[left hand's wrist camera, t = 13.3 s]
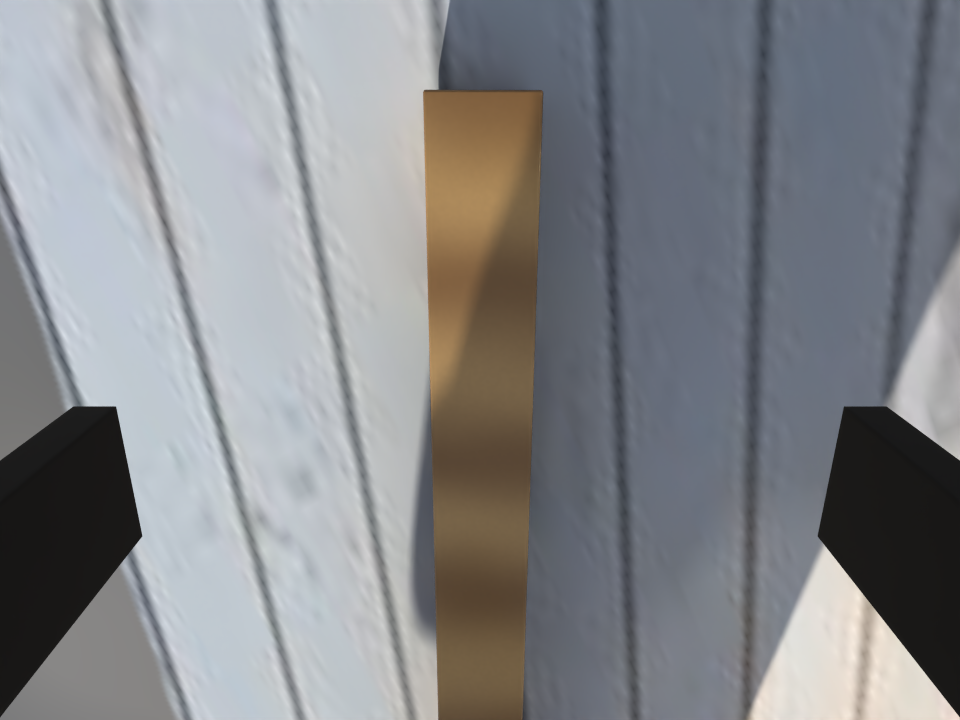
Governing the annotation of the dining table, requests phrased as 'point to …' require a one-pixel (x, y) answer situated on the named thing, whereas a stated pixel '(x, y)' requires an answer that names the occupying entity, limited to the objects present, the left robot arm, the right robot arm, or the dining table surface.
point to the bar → (481, 386)
